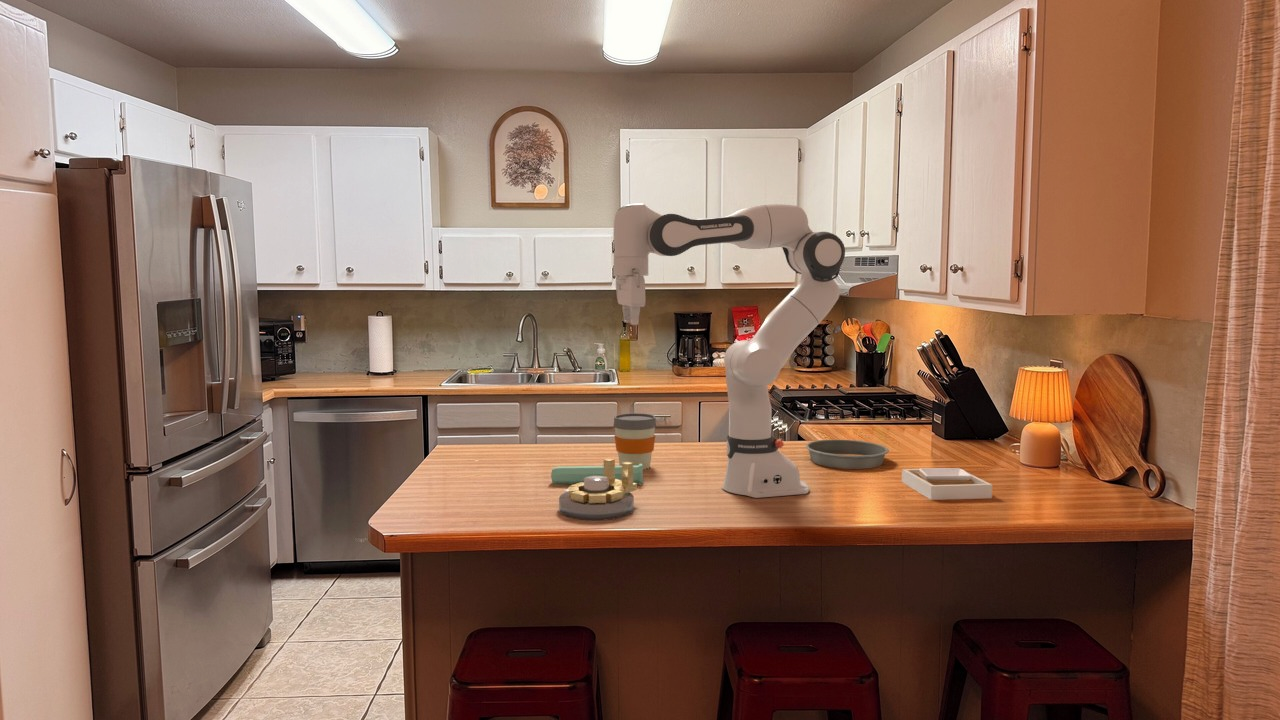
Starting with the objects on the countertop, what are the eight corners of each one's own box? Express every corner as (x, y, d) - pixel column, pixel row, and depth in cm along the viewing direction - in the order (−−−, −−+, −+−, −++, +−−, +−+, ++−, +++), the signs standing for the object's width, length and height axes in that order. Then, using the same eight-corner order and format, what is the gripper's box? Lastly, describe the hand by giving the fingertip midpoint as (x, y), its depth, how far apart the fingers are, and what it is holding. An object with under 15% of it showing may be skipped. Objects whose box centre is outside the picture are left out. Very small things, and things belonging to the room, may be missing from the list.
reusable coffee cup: (662, 469, 238) (662, 418, 236) (622, 473, 233) (622, 421, 232) (646, 460, 250) (646, 412, 248) (607, 464, 245) (607, 414, 243)
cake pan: (898, 471, 237) (899, 455, 236) (813, 470, 237) (814, 455, 237) (876, 452, 261) (876, 438, 261) (799, 452, 262) (799, 438, 261)
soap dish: (962, 486, 220) (963, 467, 219) (974, 495, 210) (975, 476, 210) (915, 485, 221) (915, 466, 220) (924, 494, 211) (925, 475, 211)
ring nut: (598, 506, 188) (597, 476, 187) (557, 496, 196) (556, 467, 196) (644, 491, 201) (644, 463, 200) (604, 482, 209) (604, 455, 209)
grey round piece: (630, 498, 207) (630, 469, 207) (636, 519, 190) (636, 487, 189) (559, 500, 206) (559, 470, 205) (559, 521, 188) (558, 489, 187)
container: (549, 463, 221) (642, 461, 220) (552, 466, 226) (642, 465, 226) (549, 485, 219) (642, 483, 218) (551, 488, 225) (642, 486, 224)
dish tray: (957, 480, 225) (958, 468, 224) (991, 498, 207) (992, 484, 206) (901, 482, 223) (902, 469, 223) (930, 499, 205) (931, 486, 205)
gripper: (651, 268, 197) (651, 326, 198) (635, 269, 217) (635, 321, 218) (626, 268, 196) (626, 326, 197) (612, 269, 216) (612, 321, 217)
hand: (631, 323), depth 208 cm, fingers open, 8 cm apart
